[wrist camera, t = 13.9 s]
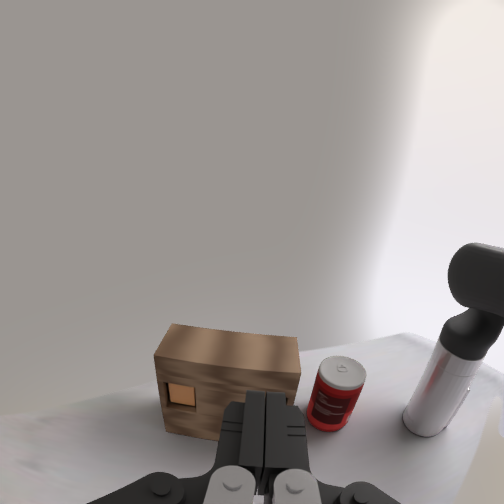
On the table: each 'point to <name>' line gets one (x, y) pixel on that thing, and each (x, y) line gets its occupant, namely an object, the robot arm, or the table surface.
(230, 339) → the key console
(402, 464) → the table surface
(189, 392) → the orange key
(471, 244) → the robot arm
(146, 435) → the table surface
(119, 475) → the table surface
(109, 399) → the table surface
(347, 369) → the canned food
